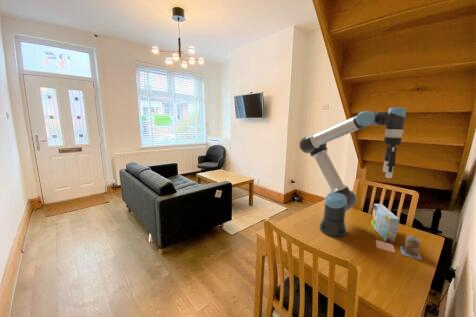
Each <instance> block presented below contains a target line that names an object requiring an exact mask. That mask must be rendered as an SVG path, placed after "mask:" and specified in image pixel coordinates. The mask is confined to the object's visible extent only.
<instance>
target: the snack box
mask: <svg viewBox="0 0 476 317" xmlns="http://www.w3.org/2000/svg"><path fill="white" fill-rule="evenodd" d="M371 213H372V215H371V221H370V225H371V226H372V227H373V229H374V230H375V232H376V233H378V235H379V236H380V237H381V238H382V239H383V242H386V243H390V244H395V243H396V238H397V234H398V230H399V225H400V218H399V217H398V216H396V215H395V214H394V213H393V212H392V211H390V210H389V208H387V207H386V206H385V205H384V204H381V203H373V207H372V212H371Z"/></svg>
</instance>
